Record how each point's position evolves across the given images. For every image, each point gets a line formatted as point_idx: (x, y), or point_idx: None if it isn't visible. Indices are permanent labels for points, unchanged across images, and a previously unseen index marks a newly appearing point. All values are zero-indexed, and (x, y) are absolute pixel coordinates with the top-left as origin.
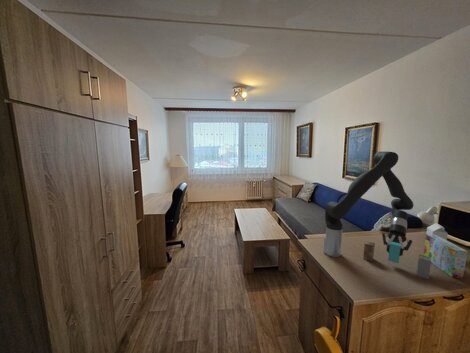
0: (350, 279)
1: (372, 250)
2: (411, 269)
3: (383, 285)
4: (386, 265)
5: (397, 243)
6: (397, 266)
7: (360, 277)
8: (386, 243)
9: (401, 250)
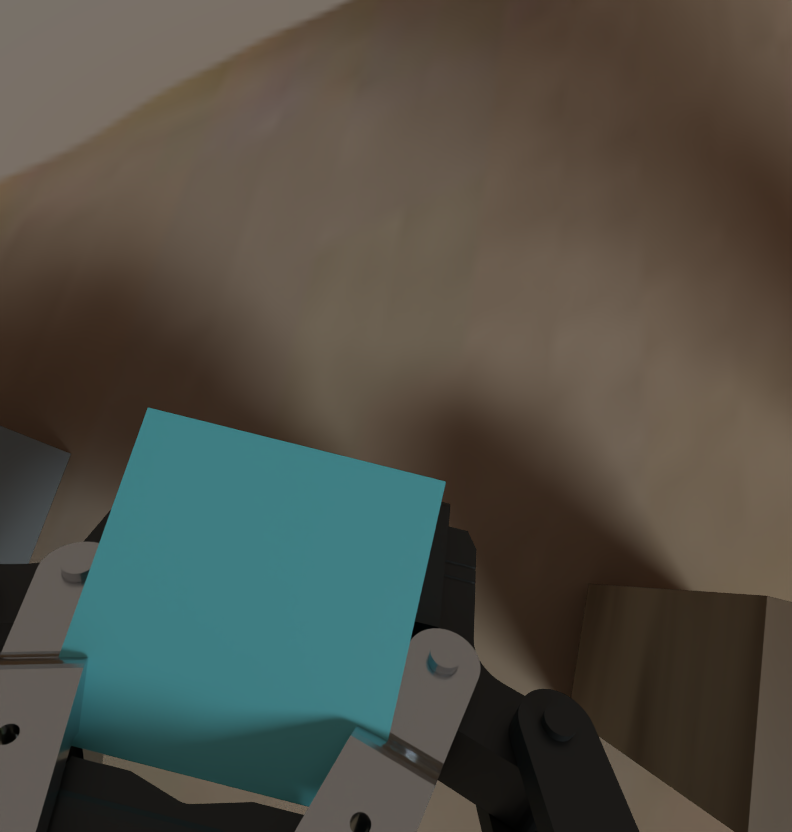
0: (787, 39)
1: (701, 592)
2: None
3: (499, 69)
4: None
5: (175, 654)
6: None
7: (705, 112)
8: (498, 706)
9: None
